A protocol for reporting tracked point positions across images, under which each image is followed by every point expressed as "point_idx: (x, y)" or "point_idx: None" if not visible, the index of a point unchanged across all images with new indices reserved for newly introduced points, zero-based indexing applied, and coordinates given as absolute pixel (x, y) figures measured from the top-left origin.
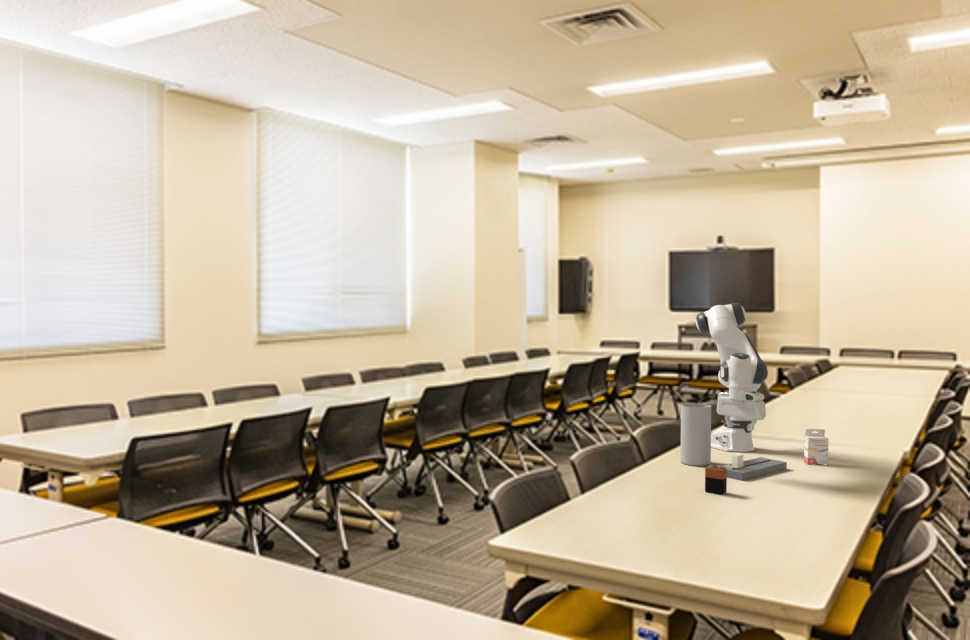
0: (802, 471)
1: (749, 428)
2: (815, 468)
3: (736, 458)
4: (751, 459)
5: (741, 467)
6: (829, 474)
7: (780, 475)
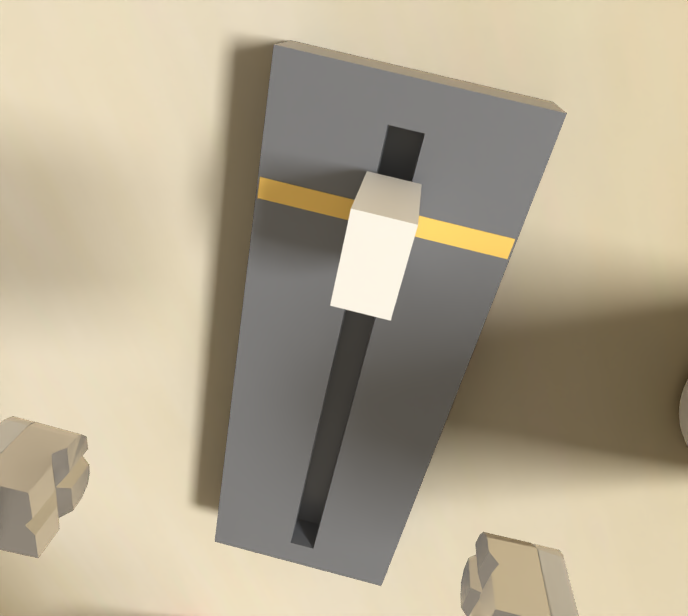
0: (152, 502)
1: (39, 440)
2: (145, 574)
3: (368, 201)
4: (404, 516)
5: None
6: None
7: (181, 367)
